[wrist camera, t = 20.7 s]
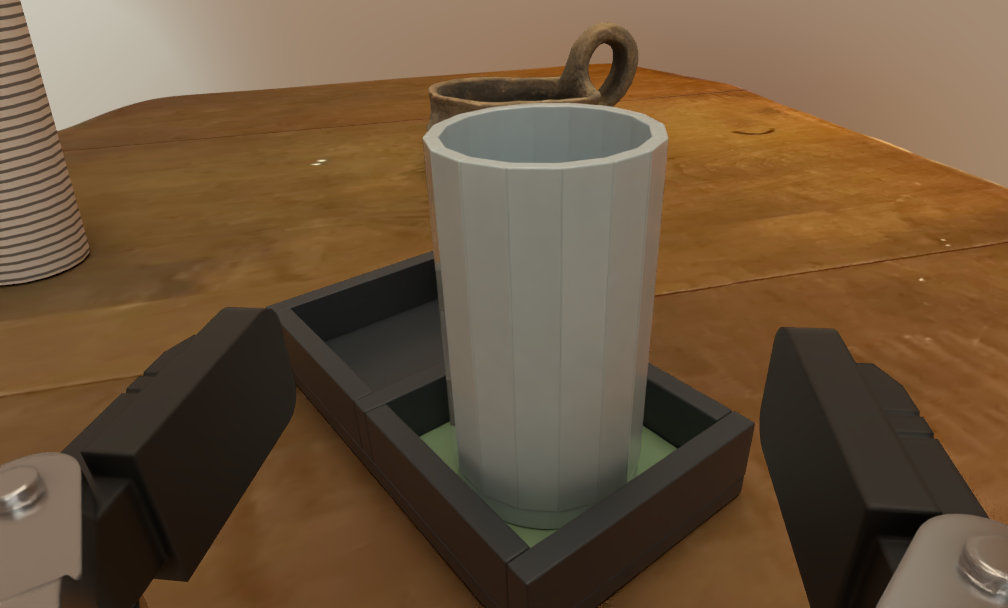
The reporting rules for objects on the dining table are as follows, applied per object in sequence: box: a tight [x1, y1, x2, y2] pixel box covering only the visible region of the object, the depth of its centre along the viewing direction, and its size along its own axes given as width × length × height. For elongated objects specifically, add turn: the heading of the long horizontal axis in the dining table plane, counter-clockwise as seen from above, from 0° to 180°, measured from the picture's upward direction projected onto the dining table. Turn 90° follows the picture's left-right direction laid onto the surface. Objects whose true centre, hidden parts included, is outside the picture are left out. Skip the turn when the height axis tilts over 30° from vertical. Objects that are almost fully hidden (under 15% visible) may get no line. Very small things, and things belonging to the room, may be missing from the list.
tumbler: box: [423, 103, 668, 529], centre depth 19 cm, size 6×6×11 cm
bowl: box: [426, 22, 638, 132], centre depth 51 cm, size 14×18×10 cm
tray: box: [266, 251, 755, 608], centre depth 24 cm, size 17×9×3 cm, turn 38°
